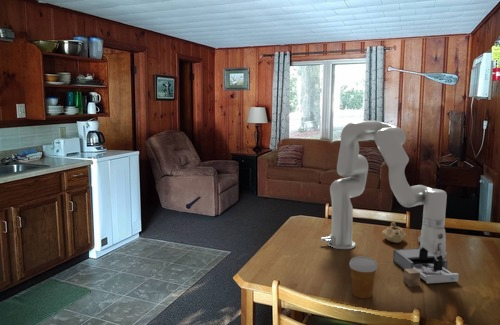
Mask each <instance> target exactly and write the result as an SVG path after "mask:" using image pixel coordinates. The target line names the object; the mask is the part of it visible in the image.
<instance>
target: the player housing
mask: <svg viewBox="0 0 500 325" xmlns="http://www.w3.org/2000/svg"><path fill="white" fill-rule="evenodd" d="M419 252H420V250H419V247H417V248H403V249H393V254H392V255H393V256H392V258H393V259H392V262H393V263H395V264H396V265H397V266H398V267H400V269H403V270H404V269H410V268H413V266H414V264H426V263H434V260H435V257H434V254H432V253H431V252H429V251H428V256H427V260H419ZM437 256H438V257H439V256H440V255H439V254H437ZM442 267H444V268H445V269H447V270H448V259H446V258H445V259H444V261H443V265H442Z"/></svg>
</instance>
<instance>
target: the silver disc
mask: <svg viewBox="0 0 500 325" xmlns="http://www.w3.org/2000/svg"><path fill="white" fill-rule="evenodd" d="M433 267H434V264H423V265H422V266H421V271H422V272H423V273H425V274H427V275H435V274H441V271H434V270H433Z"/></svg>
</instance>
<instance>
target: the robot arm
mask: <svg viewBox="0 0 500 325" xmlns="http://www.w3.org/2000/svg"><path fill="white" fill-rule="evenodd" d="M406 139H407V136H406V133H405V131H404V130H403V129H402V128H400V127H398V126H397V125H392V124H389V123H385V122H382V121H379V120H358V121H353V122H348V123H347V124H346V125H345V126H343V128H342V130H341V133H340V146H339V151H338V155H337V156H338V157H337V163H336V173H337V174H338V175H339V176H340V177H343V178H339V179H335V180H334V181H333V182H331V184H330V186H329V193H330V201H331V229H330V230H331V233H330V234H329V236H323V237H320V241H321V242H325V243H327V245H328V246H329V247H330V246H331V248H332V247H333V249H336V250H337V249H338V250H352V249H353V248H355V247H356V242H355V241H353V224H354V223H353V222H354V221H353V212H354V211H353V210H354V208H353V204H352V201H351V199H352V198H357V197H359V196H361V195H362V194H363V193H364V191H365V189H366V183H367V178H368V172H369V162H368V160H367V158H366V157H365V156H364V155H362V154H360V144H359V142H360V141H361V142H363V141H374V143H375V144H376V146H377V148H378V150H379V152H380V154H381V156H382V158H383V159H384V162H385V163H386V165H387V167H388V183H389V186H390V189H391V191H392V193H393V195H394V197H395V199H396V201H397V202H398V203H399V204H400V205H401V206H402V207H404V208H412V207H413V208H414V207H416V206H422V205H423V210H422V211H423V212H422V223H421V224H422V225H421V230H420V235H419V236H417V240H418V246H419V247H418V248H419V250H420V252H419V260H427V256H428V251H429V252H431V253H432V254H434V257H435V260H434V267H433V270H434V271H441V270H442V265H443V261H444V259H446V257H447V254H448V252H447V251H446V247H447V246H446V242H447V240H446V239H447V238H446V237H447V236H446V229H445V224H446V223H445V222H446V209H447V199H448V198H447V197H448V195H447V192H446V191H445V190H443V189H438V188H432V187H430V186H426V185H423V184H417V185H411V186H410V184H409V183H408V181H407V177H406V174H405V169H406V166H407V165H408V163H409V162H410V158H409V156H408V154H407V152H406V150H405V149H404V146H403V145H404V144H405V143H406ZM437 254H438V255H440V256H439V257H438V256H437Z"/></svg>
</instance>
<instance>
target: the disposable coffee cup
mask: <svg viewBox="0 0 500 325" xmlns="http://www.w3.org/2000/svg"><path fill="white" fill-rule="evenodd" d="M348 265H349V268H350V277H351V286H352V294H353V296H354V297H357V298H361V299H369V298H371V297H372V294H373V290H374V285H375V278H376V274H377V270H378V266H379V265H378V263H377V261H376V260H375V259H374V258H371V257H367V256H354V257H352V258H351V259H350V261H349V263H348Z"/></svg>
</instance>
